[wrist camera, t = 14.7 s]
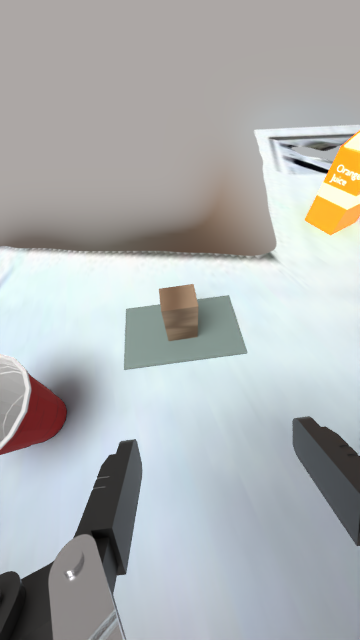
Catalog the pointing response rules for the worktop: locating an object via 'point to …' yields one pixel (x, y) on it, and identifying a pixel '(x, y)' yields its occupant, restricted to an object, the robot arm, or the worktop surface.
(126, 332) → the mat
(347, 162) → the orange juice
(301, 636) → the worktop surface
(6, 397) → the plastic cup
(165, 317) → the walnut block
